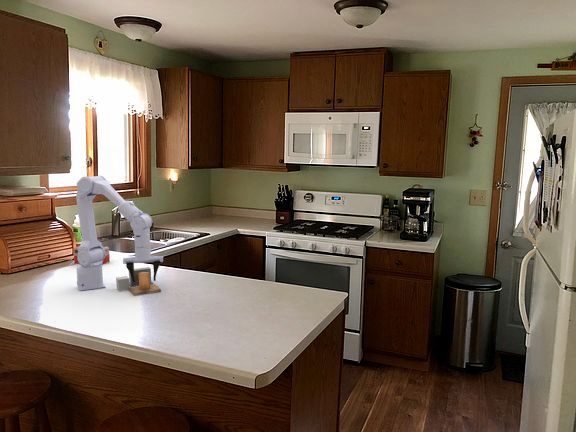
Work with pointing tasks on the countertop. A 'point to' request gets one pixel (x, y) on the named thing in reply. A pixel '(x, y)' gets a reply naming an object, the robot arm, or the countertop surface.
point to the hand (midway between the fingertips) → (144, 281)
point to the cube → (122, 283)
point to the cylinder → (144, 281)
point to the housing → (136, 274)
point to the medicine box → (106, 249)
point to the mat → (137, 291)
